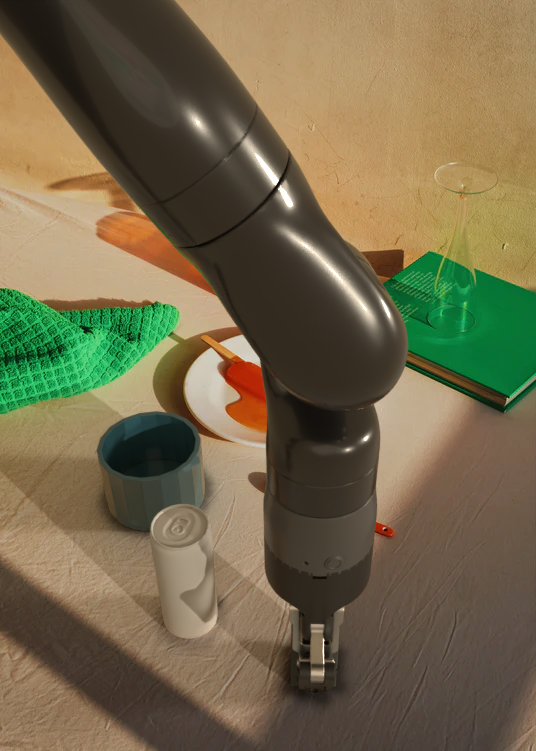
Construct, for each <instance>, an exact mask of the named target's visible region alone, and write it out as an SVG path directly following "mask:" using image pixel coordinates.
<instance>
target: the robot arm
mask: <svg viewBox="0 0 536 751" xmlns="http://www.w3.org/2000/svg"><path fill="white" fill-rule="evenodd" d="M0 37H2V39H3V40H4V41H5V42H6V44H7V45H8V46H9V48H11V50H12V51H13V52H14V54H15V55H16V57H17V58H18V59H19V60H20V62H21V64H23V66H24V67H25V68H26V69H27V71H28V72H29V73H30V75H31V76H32V77H33V79H34V80H35V81H36V83H37V84H38V85H39V87H40V88H41V89H42V91H43V92H44V93H45V95H46V96H47V97H48V98H49V100H50V101H51V102H52V104H53V105H54V107H55V108H56V109H57V110H58V112H59V113H60V114H61V116H62V117H63V118H64V120H65V121H66V122H67V123H68V125H69V126H70V127H71V129H72V130H73V132H74V133H75V134H76V135H77V137H78V138H79V139H80V140H81V142H82V143H83V144H84V145H85V146H86V147H87V149H88V150H89V151H90V153H91V154H92V156H94V157H95V159H96V160H97V161H98V163H100V165H101V166H102V167H103V169H104V170H105V171H106V172H107V173H108V175H109V176H110V177H111V178H112V179H113V181H114V182H116V184H117V185H118V186H119V188H121V189H122V191H123V192H124V193H125V195H127V196H128V197H129V199H130V200H131V201H132V202H133V203H134V204H135V205H136V206H137V207H138V208H139V210H140V211H141V212H142V213H143V214H144V215H145V217H147V218H148V220H149V221H150V222H151V223H152V224H153V226H155V227H156V229H158V231H159V232H160V233H161V234H162V235H163V237H165V239H166V240H168V242H169V243H170V244H171V245H172V246H173V247H174V249H176V250H177V251H178V253H180V255H182V256H183V258H184V259H185V260H186V261H188V262H189V263H190V264H191V265H192V266H193V267H194V268H195V269H196V270H197V271H198V272H199V274H200V275H201V276H202V278H203V279H204V280H205V281H206V283H207V284H208V286H210V288H211V289H212V291H213V292H214V294H215V295H216V297H217V299H218V300H219V301H220V303H221V305H222V306H223V308H224V310H225V311H226V313H227V314H228V315H229V317H230V319H231V321H233V323H234V324H235V326H236V327H237V329H238V331H239V332H240V333H241V335H242V336H243V338H244V339H245V340H246V342H247V343H248V345H249V347H251V349H252V350H253V352H254V353H255V354H256V356H257V357H258V359H259V363H260V371H261V378H262V385H263V390H264V397H265V406H266V434H265V476H266V478H265V486H264V492H263V499H262V500H263V501H262V512H263V515H262V516H263V549H264V550H263V558H264V559H263V560H264V573H265V577H266V580H267V582H268V584H269V586H270V587H271V589H272V590H273V592H274V593H275V594H277V596H278V597H279V598H280V599H282V600H283V601H284V602H285V603H287V604H289V608H288V609H289V610H288V613H289V614H288V621H289V623H290V624H292V625H293V637H292V648H293V650H294V651H295V652H298V653H299V659H297V666H299V667H297V675H299V676H297V684H298V683H299V686H298V689H299V691H300V692H302V693H304V695H319V696H321V695H323V694H324V693H326V692H327V691H331V690H333V688H334V687H333V685H334V683H335V676H336V677H338V667H337V668H335V663H334V658H331V656H332V654H333V653H336V652H337V651H338V652H339V649H340V648H339V647H340V633H341V632H340V629H341V626H342V625H343V624H344V619H345V607H346V606H348V605H350V604H351V603H353V602H354V601H355V600H357V599H358V598H359V597H360V596H361V595H362V593H364V592H365V589H366V588H367V585H368V583H369V581H370V577H371V573H372V572H371V570H372V563H373V562H372V561H373V554H374V545H375V544H374V543H375V535H376V528H377V527H376V526H377V519H378V518H377V517H378V494H377V480H378V471H379V470H378V468H379V460H380V451H381V427H380V420H379V416H378V413H377V409H376V407H375V404H377V403H378V402H380V401H381V400H383V399H384V398H385V397H387V396H388V395H389V393H390V392H391V391H392V390H393V389H394V388H395V386H396V385H397V383H398V382H399V380H400V378H402V375H403V372H404V370H405V368H406V365H407V360H408V354H409V337H408V330H407V325H406V322H405V320H404V318H403V315H402V313H401V311H400V310H399V308H398V306H397V304H396V303H395V301H394V299H393V298H392V297H391V295H390V293H389V291H388V290H387V289H386V287H385V285H384V284H383V282H382V281H381V279H380V278H379V276H378V274H377V272H376V271H375V269H374V268H373V266H372V264H371V262H370V261H369V259H367V257H366V256H365V255H364V253H362V251H360V250H359V248H357V247H356V246H355V245H353V244H352V243H350V242H349V241H348V240H346V239H344V238H343V236H342V235H341V234H340V232H339V231H338V230H337V229H336V228H335V226H334V225H333V223H332V222H331V221H330V220H329V218H328V216H327V215H326V214H325V212H324V210H323V209H322V206H321V205H320V203H319V201H318V199H317V197H316V195H315V193H314V190H313V189H312V187H311V185H310V183H309V181H308V179H307V177H306V175H305V174H304V172H303V169H302V168H301V166H300V164H299V162H298V161H297V160H296V158H295V156H294V155H293V153H292V152H291V149H289V148H288V146H287V144H286V143H285V141H284V140H283V139H282V137H281V135H280V134H279V133H278V131H277V130H276V128H275V127H274V126H273V124H272V122H271V121H270V120H269V119H268V117H267V115H266V114H265V112H264V111H263V110H262V109H261V107H260V106H259V103H257V101H256V100H255V98H254V97H253V95H252V94H251V93H250V91H249V90H248V89H247V87H246V86H245V84H244V83H243V82H242V80H241V79H240V78H239V76H238V75H237V74H236V72H235V71H234V70H233V68H232V67H231V65H230V64H229V63H228V62H227V61H226V59H225V58H224V57H223V55H222V54H221V53H220V52H219V50H218V49H217V48H216V46H215V45H214V44H213V43H212V42H211V40H210V39H209V38H208V37H207V36H206V34H205V33H204V32H203V31H202V30H201V28H200V27H199V26H198V25H197V24H196V23H195V22H194V20H193V19H192V18H191V17H190V16H189V14H188V13H187V12H186V11H185V10H184V8H182V6H181V5H180V4H179V3H178V2H177V1H176V0H0ZM300 617H301V630H300ZM307 652H310V654H306V653H307ZM324 654H325V655H324Z"/></svg>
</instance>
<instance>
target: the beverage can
mask: <svg viewBox="0 0 536 751" xmlns="http://www.w3.org/2000/svg"><path fill="white" fill-rule="evenodd" d="M149 541H150V547H151V553H152V560H153V566H154V571H155V577H156V583H157V589H158V597H159V601H160V602H159V603H160V607H161V608H160V609H161V613H162V619H163V624H164V627H165V628H166V630H167V631H169V633H171V634H172V635H173V636H175V637H178V638H181V639H186V640H187V639H188V640H190V639H191V640H192V639H196V638H200V637H202V636H204V635H206V634H208V633H209V632H210V631H211V630H212V629H213V628H214V626H216V624H217V621H218V617H219V610H218V599H217V587H216V576H215V574H216V573H215V560H214V542H213V532H212V526H211V523H210V520H209V517H208V516H207V514H206V513H205V511H204V510H203V509H201V507H199V508H198V507H196V506H193V505H189V504H177V505H172V506H169V507H167V508H164V509H163V510H161V511H160V512H159V513H158V514H157V515H156V516H155V517H154V519H153V521H152V523H151V528H150V531H149Z"/></svg>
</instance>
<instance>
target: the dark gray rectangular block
mask: <svg viewBox="0 0 536 751" xmlns="http://www.w3.org/2000/svg"><path fill="white" fill-rule="evenodd" d="M290 624H291V626H290V627H291V630H290V632H291V633H290V634H291V635H290V648H291V649H290V686H292V687H299V683H298V684H297V676H299V675H297V667H299V666H297V659H299V653H298V652H295V651H294V650H293V648H292V637H293V625H292V623H290ZM300 630H301V617H300ZM306 654H310V652H307V653H306ZM324 655H325V654H324ZM331 658H334V663H335V668H337V669H338V660H339V650H338V651H337V652H336V653H333V654H332V656H331ZM336 685H337V676H335V683H334V685H333V688H336Z"/></svg>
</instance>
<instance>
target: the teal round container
mask: <svg viewBox="0 0 536 751" xmlns="http://www.w3.org/2000/svg"><path fill="white" fill-rule="evenodd" d="M96 447H97V448H96V456H97V460H98V465H99V470H100V476H101V479H102V483H103V488H104V489H103V490H104V493H105V499H106V502H107V508H108V510H109V512H110V514H111V516H112V517H113V518H114V519H115V520H116V521H117V522H118V523H120V524H121V525H123V526H124V527H126V528H129V529H132V530H136V531H141V532H150V528H151V523H152V521H153V519H154V517H155V516H156V515H157V514H158V513H159V512H160V511H161V510H163V509H164V508H167V507H169V506H172V505H177V504H189V505H193V506H196V507H198V508H201V506H202V504H203V503H204V502H203V501H204V498H205V491H206V488H205V486H206V482H205V470H204V469H205V468H204V462H203V461H204V459H203V448H202V438H201V435H200V433H199V430H198V428H197V427H196V425H194V424H193V423H192V422H191V421H189V419H187V418H186V417H183V416H180V415H179V414H176V413H174V412H166V411H159V410H155V411H145V412H138V413H135V414H132V415H129V416H127V417H123V418H121V419H119V420H118V421H116V422H115V423H114V424H112V425H110V426H109V427H108V428H107V430H106V431H105V432H104V433H103V434H102V435H101V436H100V438H99V441H98V444H97V446H96Z"/></svg>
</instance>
